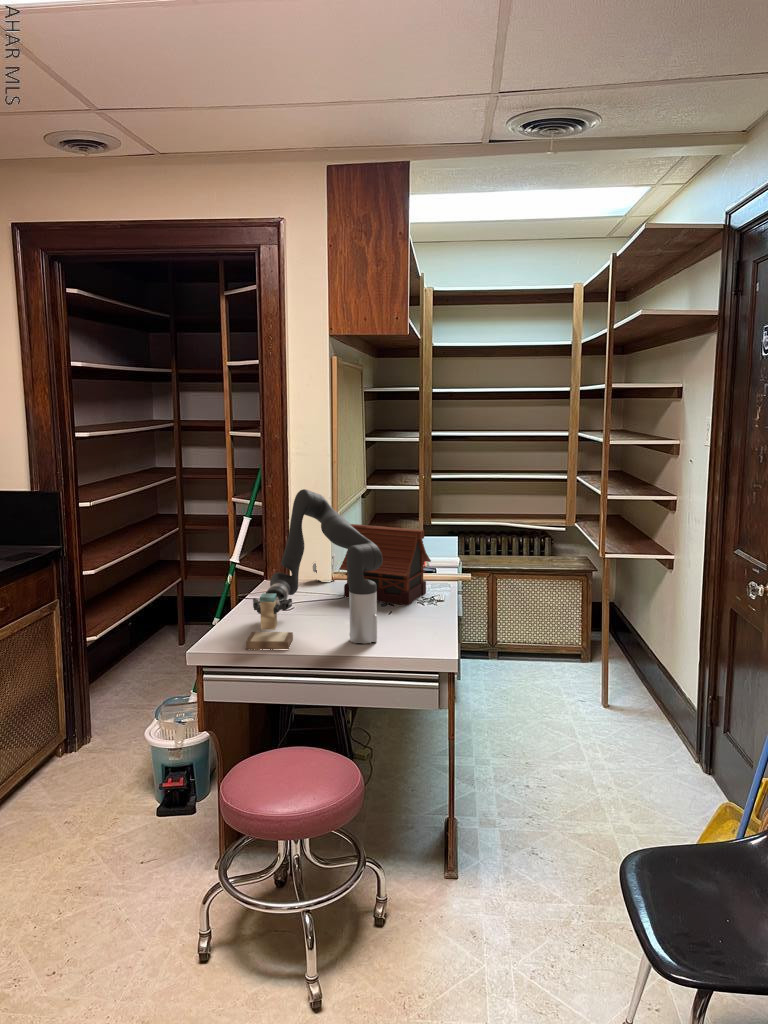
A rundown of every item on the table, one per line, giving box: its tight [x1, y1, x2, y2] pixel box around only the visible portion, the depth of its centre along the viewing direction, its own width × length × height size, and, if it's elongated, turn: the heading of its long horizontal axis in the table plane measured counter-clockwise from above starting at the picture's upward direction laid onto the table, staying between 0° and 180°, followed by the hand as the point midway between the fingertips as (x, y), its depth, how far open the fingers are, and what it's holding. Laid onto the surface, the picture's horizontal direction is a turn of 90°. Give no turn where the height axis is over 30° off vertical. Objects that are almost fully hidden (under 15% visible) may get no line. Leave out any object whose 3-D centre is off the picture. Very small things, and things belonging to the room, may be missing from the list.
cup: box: [312, 553, 336, 574], centre depth 326 cm, size 10×9×12 cm
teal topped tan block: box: [259, 592, 278, 631], centre depth 241 cm, size 5×5×11 cm
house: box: [339, 523, 432, 606], centre depth 301 cm, size 35×28×29 cm
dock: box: [245, 631, 294, 651], centre depth 242 cm, size 14×10×3 cm
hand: (267, 610), depth 238 cm, fingers closed on teal topped tan block, 4 cm apart
